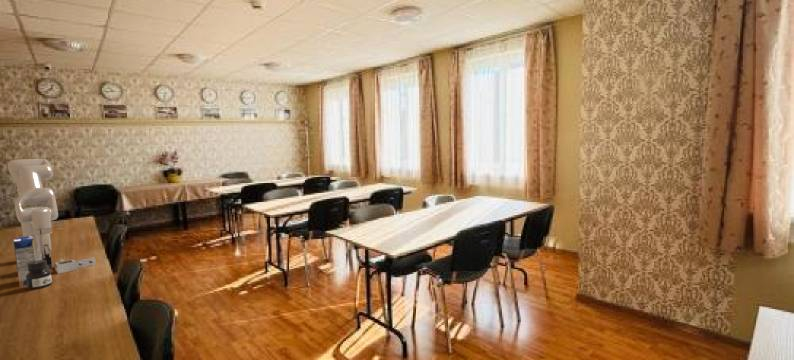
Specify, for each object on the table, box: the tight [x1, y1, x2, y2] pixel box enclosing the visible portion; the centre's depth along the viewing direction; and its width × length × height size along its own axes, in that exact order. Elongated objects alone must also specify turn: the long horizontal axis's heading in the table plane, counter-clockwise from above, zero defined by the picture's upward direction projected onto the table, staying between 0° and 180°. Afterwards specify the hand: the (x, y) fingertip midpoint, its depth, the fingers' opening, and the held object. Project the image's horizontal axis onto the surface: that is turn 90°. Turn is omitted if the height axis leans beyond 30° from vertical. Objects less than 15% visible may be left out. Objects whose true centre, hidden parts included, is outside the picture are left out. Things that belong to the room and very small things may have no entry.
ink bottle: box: [26, 260, 53, 290], centre depth 189 cm, size 10×9×12 cm
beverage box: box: [13, 236, 36, 287], centre depth 196 cm, size 7×11×22 cm, turn 44°
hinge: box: [54, 256, 96, 275], centre depth 219 cm, size 17×17×4 cm
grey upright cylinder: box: [41, 254, 54, 270], centre depth 217 cm, size 4×4×7 cm
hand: (47, 263), depth 217 cm, fingers closed on grey upright cylinder, 4 cm apart
